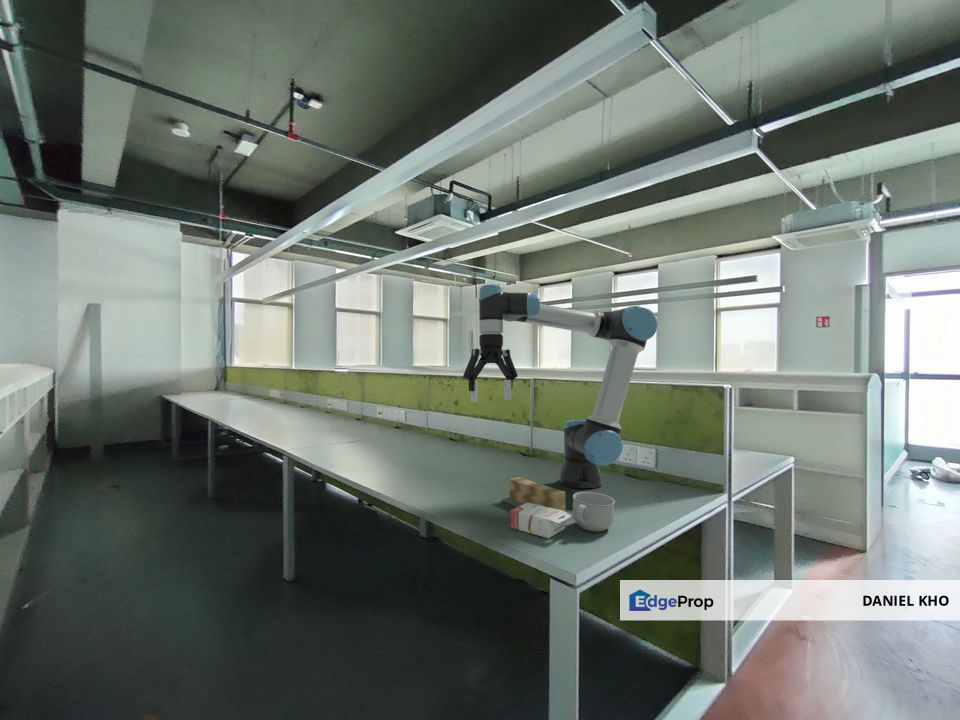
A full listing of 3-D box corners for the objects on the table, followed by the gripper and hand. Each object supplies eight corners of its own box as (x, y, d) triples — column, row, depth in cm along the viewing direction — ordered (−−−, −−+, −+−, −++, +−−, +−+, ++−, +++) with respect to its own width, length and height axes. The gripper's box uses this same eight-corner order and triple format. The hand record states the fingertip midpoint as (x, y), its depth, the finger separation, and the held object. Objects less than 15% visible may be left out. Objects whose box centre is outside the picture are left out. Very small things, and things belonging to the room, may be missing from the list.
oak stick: (509, 497, 133) (509, 479, 133) (519, 495, 136) (518, 477, 136) (555, 516, 117) (555, 494, 117) (565, 513, 120) (565, 492, 120)
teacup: (588, 517, 119) (588, 488, 119) (623, 528, 110) (623, 498, 111) (556, 529, 110) (556, 498, 110) (591, 542, 102) (591, 509, 102)
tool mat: (522, 495, 138) (522, 493, 138) (574, 514, 121) (574, 511, 121) (501, 500, 133) (501, 498, 133) (552, 521, 115) (552, 518, 115)
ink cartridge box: (509, 528, 111) (558, 542, 101) (509, 509, 111) (557, 522, 101) (528, 519, 117) (575, 532, 108) (528, 501, 118) (575, 512, 108)
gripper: (513, 336, 144) (513, 398, 144) (451, 333, 129) (451, 402, 129) (528, 334, 138) (528, 399, 138) (465, 331, 123) (465, 403, 123)
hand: (491, 400), depth 133 cm, fingers open, 13 cm apart
